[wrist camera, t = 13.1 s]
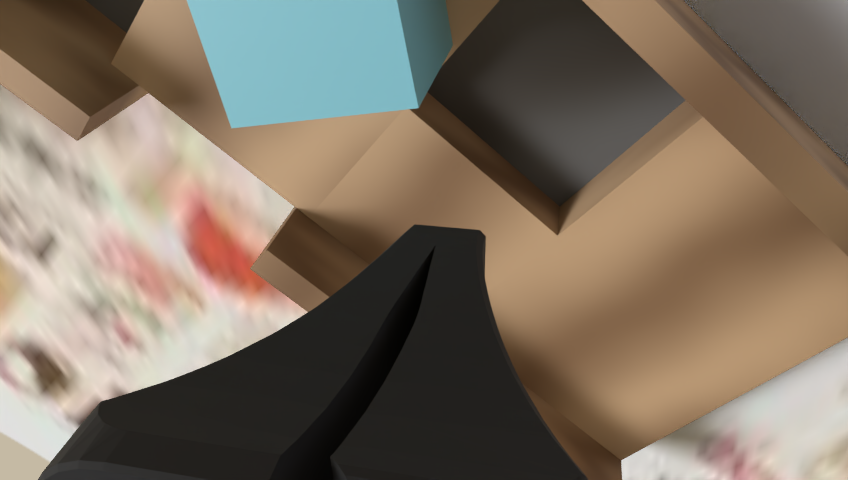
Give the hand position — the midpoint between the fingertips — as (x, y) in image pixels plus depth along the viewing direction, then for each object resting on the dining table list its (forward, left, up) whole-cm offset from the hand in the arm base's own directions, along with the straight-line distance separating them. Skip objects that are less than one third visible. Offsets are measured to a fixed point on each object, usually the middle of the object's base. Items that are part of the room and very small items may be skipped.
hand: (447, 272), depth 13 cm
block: (+5, 0, -8) cm, 9 cm away
